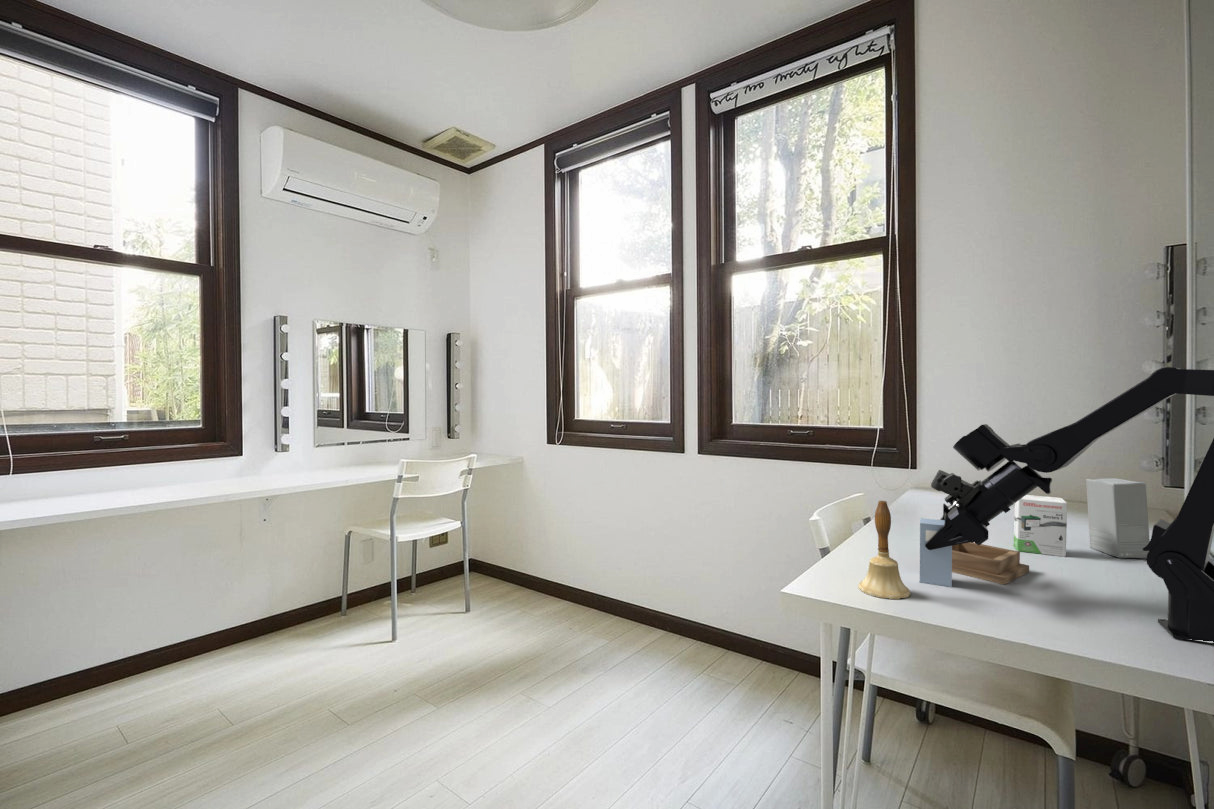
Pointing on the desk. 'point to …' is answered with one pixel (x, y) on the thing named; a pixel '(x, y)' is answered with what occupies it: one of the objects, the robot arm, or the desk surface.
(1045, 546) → the ink box
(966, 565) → the tray
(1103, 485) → the skincare box
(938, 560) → the box
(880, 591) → the hand bell
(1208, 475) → the robot arm
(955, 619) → the desk surface
